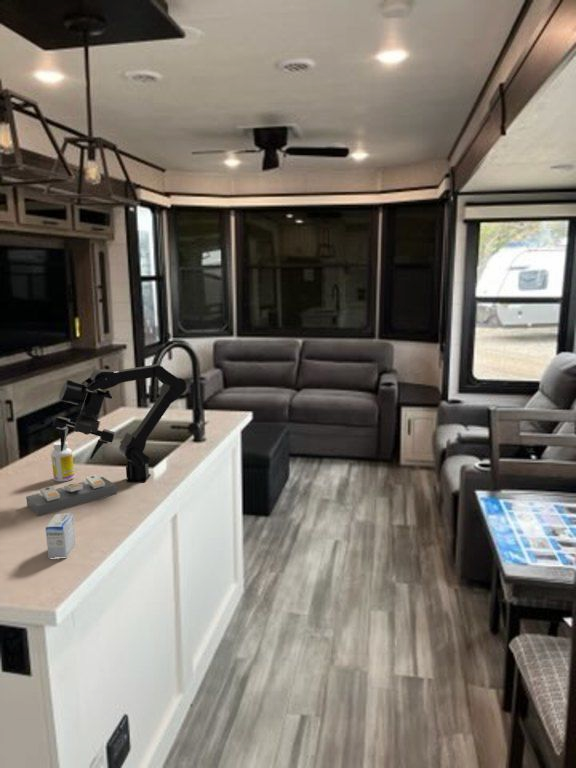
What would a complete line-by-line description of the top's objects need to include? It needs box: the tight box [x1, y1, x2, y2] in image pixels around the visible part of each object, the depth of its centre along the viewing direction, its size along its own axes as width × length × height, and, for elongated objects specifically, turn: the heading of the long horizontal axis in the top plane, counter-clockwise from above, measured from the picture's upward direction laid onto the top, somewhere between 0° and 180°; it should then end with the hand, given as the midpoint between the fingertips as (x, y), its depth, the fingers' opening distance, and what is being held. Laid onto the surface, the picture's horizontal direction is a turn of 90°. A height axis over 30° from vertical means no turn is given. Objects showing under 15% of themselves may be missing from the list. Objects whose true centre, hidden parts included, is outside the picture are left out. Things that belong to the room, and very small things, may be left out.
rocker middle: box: [63, 482, 83, 492], centre depth 175 cm, size 6×4×1 cm, turn 41°
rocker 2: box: [85, 474, 105, 489], centre depth 179 cm, size 6×4×1 cm, turn 42°
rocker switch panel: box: [25, 476, 117, 517], centre depth 176 cm, size 24×10×4 cm, turn 131°
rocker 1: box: [39, 485, 60, 501], centre depth 170 cm, size 6×4×1 cm, turn 42°
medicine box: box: [45, 513, 76, 559], centre depth 143 cm, size 8×4×9 cm, turn 5°
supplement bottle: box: [50, 440, 75, 483], centre depth 194 cm, size 7×7×13 cm
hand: (76, 455), depth 181 cm, fingers open, 9 cm apart
